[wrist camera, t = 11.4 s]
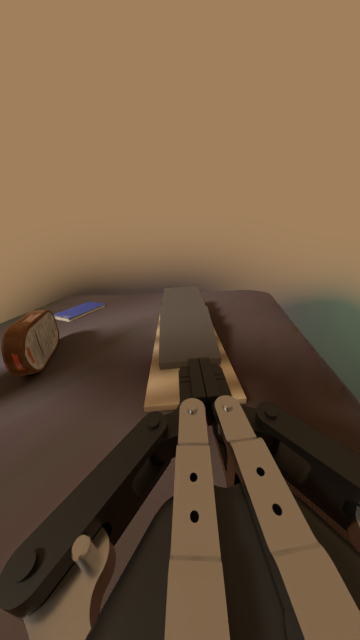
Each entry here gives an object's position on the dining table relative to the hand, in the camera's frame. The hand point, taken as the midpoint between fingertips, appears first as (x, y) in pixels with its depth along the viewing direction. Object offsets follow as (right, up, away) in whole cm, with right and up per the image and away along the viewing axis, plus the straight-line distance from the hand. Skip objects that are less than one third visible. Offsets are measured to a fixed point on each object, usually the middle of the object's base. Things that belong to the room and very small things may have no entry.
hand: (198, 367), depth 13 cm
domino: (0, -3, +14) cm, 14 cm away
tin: (-26, -4, +21) cm, 34 cm away
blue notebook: (-32, +5, +44) cm, 55 cm away
